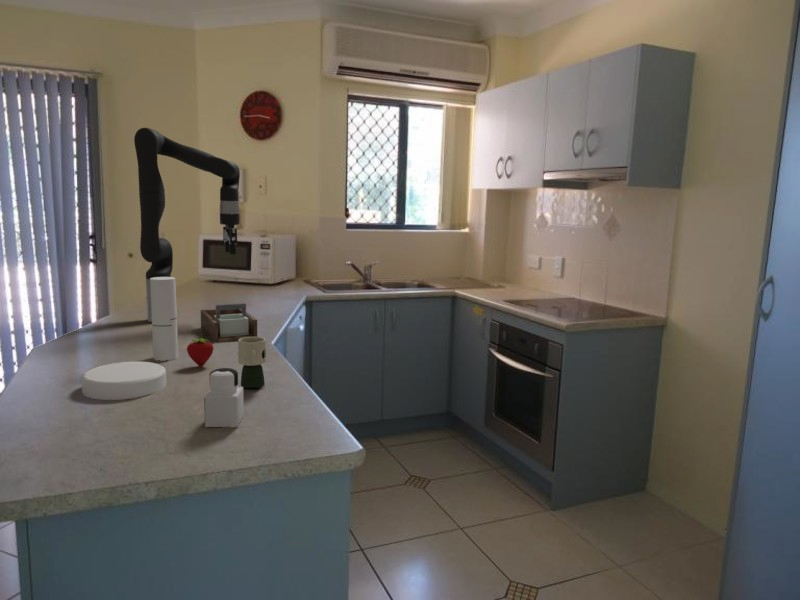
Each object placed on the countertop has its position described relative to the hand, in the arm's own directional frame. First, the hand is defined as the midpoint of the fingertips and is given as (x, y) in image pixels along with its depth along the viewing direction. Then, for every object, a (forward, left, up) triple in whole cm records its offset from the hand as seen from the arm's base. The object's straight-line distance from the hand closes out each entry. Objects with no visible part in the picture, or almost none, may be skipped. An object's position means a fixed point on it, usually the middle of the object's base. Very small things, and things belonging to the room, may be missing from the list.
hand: (230, 253), depth 230 cm
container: (-44, -74, -29) cm, 91 cm away
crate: (-6, -26, -27) cm, 38 cm away
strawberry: (-23, -62, -28) cm, 72 cm away
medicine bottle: (-26, -109, -28) cm, 115 cm away
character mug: (-14, -87, -28) cm, 92 cm away
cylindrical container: (-31, -48, -28) cm, 64 cm away
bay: (-6, -21, -28) cm, 35 cm away
